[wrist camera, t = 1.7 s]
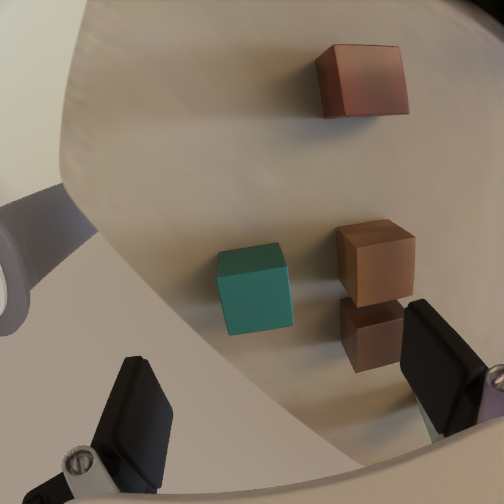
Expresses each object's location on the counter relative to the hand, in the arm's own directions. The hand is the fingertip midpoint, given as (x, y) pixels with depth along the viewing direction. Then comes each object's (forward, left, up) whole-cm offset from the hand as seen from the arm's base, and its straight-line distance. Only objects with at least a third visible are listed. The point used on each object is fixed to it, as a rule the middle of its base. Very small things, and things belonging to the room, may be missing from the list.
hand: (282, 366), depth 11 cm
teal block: (-1, -4, -17) cm, 17 cm away
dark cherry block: (+9, +11, -17) cm, 22 cm away
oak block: (+9, -3, -17) cm, 19 cm away
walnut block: (+9, -10, -17) cm, 22 cm away
